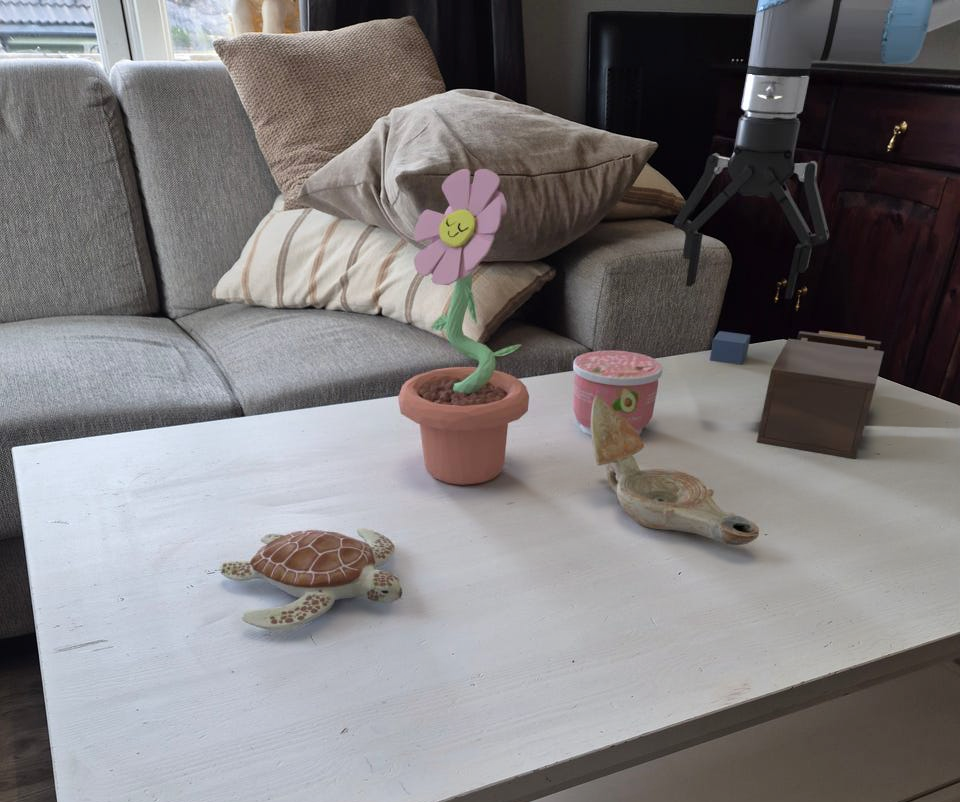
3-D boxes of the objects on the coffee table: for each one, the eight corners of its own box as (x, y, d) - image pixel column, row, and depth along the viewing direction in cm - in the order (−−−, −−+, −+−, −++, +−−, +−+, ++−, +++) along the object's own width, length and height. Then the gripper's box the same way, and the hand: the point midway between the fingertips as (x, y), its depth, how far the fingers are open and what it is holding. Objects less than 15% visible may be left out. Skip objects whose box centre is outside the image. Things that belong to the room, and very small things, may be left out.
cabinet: (774, 406, 121) (788, 338, 116) (865, 421, 117) (883, 351, 112) (756, 442, 110) (771, 368, 105) (855, 459, 107) (875, 383, 102)
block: (714, 361, 136) (719, 330, 134) (744, 366, 135) (750, 335, 132) (707, 370, 133) (713, 338, 130) (739, 375, 131) (745, 343, 129)
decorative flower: (370, 462, 103) (355, 164, 86) (467, 435, 110) (471, 154, 93) (451, 511, 94) (451, 185, 77) (551, 477, 101) (572, 173, 84)
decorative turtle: (341, 667, 71) (337, 612, 68) (175, 611, 77) (165, 559, 74) (452, 565, 84) (453, 516, 82) (303, 524, 90) (299, 477, 88)
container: (554, 432, 112) (558, 367, 107) (589, 407, 119) (595, 345, 115) (635, 451, 107) (643, 384, 103) (666, 423, 115) (675, 359, 110)
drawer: (794, 371, 130) (806, 319, 126) (870, 382, 127) (884, 329, 123) (774, 413, 116) (786, 356, 112) (858, 426, 113) (873, 368, 109)
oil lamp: (614, 475, 102) (624, 386, 96) (777, 549, 88) (800, 451, 83) (558, 496, 97) (565, 404, 91) (721, 577, 84) (741, 475, 78)
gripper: (666, 110, 117) (644, 284, 129) (872, 124, 109) (828, 308, 121) (679, 106, 122) (658, 273, 134) (876, 119, 114) (835, 296, 126)
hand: (738, 290), depth 128 cm, fingers open, 13 cm apart
